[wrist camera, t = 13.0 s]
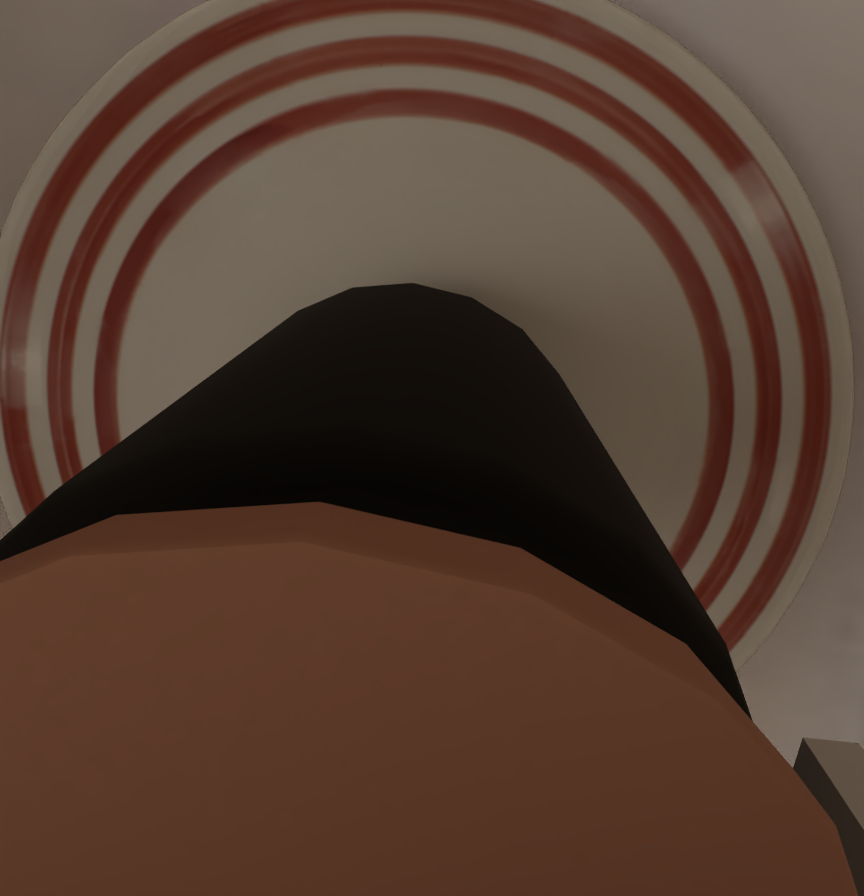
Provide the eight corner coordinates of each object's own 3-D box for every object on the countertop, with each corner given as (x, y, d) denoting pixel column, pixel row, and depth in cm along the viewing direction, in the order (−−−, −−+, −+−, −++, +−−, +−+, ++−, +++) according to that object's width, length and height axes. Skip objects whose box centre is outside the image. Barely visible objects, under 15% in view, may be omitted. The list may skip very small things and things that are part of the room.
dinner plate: (201, 812, 33) (173, 877, 30) (-124, 152, 25) (-208, 145, 22) (861, 654, 30) (909, 709, 26) (725, -160, 22) (771, -220, 19)
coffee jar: (288, 632, 26) (-20, 1457, 9) (184, 324, 23) (-590, 695, 6) (601, 569, 25) (925, 1361, 8) (538, 238, 22) (846, 381, 5)
